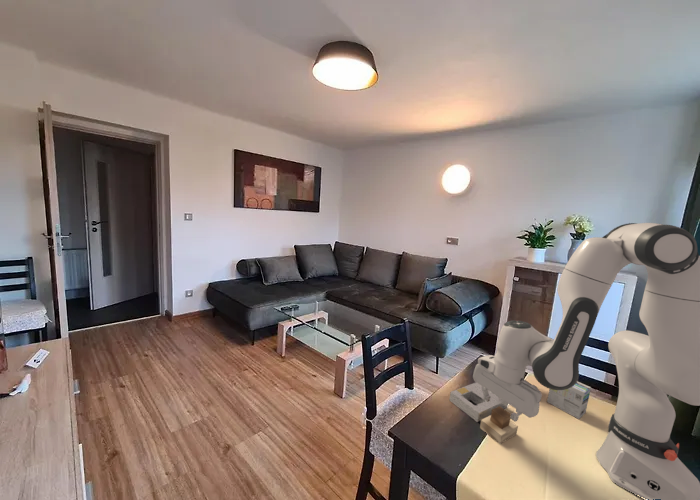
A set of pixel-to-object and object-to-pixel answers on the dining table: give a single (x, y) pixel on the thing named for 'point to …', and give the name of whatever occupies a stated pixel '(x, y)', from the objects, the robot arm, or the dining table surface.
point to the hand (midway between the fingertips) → (499, 409)
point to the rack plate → (475, 401)
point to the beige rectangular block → (498, 430)
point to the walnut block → (500, 417)
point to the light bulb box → (571, 399)
